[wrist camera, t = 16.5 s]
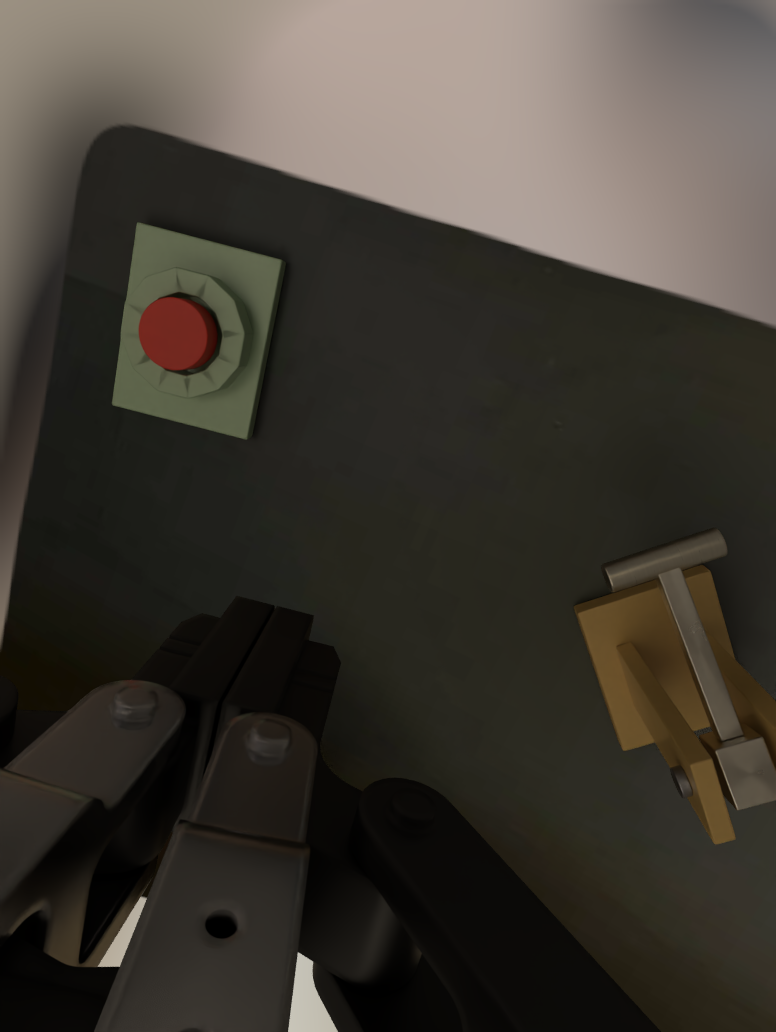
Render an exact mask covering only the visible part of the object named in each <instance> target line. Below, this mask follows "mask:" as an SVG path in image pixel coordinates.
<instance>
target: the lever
mask: <svg viewBox="0 0 776 1032" xmlns="http://www.w3.org/2000/svg"><path fill="white" fill-rule="evenodd" d="M726 555H727V545H726V542H725V540H724V538H723V536H722V534H721V533H720V531H719V530H718V529H717V528H710V529H707V530H704V531H701V532H698V533H695V534H692V535H689V536H686V537H683V538H680V539H677V540H674V541H671V542H668V543H665V544H662V545H659V546H655V547H652V548H649V549H646V550H643V551H640V552H637V553H634V554H631V555H628V556H625V557H622V558H619V559H616V560H613V561H610V562H607V563H604V564H602V565H601V569H602V573H603V576H604V579H605V581H606V584H607V586H608V588H609V589H610V591H611V592H616V591H619V590H622V589H625V588H628V587H632V586H635V585H638V584H641V583H644V582H647V581H650V580H653V579H655V580H656V583H657V585H658V588H659V591H660V593H661V596H662V599H663V601H664V604H665V606H666V609H667V612H668V614H669V617H670V620H671V622H672V625H673V628H674V630H675V633H676V636H677V638H678V641H679V644H680V646H681V649H682V652H683V654H684V657H685V659H686V662H687V665H688V667H689V670H690V673H691V675H692V678H693V681H694V683H695V686H696V689H697V691H698V694H699V697H700V699H701V702H702V705H703V707H704V710H705V713H706V715H707V718H708V720H709V723H710V726H711V728H712V731H713V732H709V733H706V734H702V735H699V738H700V741H701V743H702V745H703V746H704V748H705V749H706V751H707V752H708V753H709V755H710V756H711V758H712V759H713V763H714V766H715V769H716V773H717V776H718V779H719V783H720V786H721V789H722V793H723V795H724V797H725V798H726V799H727V800H728V801H729V802H730V803H731V804H732V805H733V807H734V808H735V809H736V810H742V809H746V808H750V807H753V806H757V805H761V804H764V803H768V802H772V801H776V769H775V766H774V763H773V761H772V758H771V756H770V753H769V750H768V748H767V745H766V743H765V740H764V738H763V737H762V736H761V735H760V734H758V733H757V732H756V731H754V730H753V729H751V728H750V727H749V726H747V725H746V724H745V723H740V721H739V719H738V716H737V714H736V711H735V708H734V706H733V703H732V700H731V698H730V695H729V693H728V690H727V687H726V685H725V682H724V679H723V677H722V674H721V672H720V669H719V666H718V664H717V661H716V659H715V656H714V653H713V651H712V648H711V645H710V643H709V640H708V638H707V635H706V632H705V630H704V627H703V624H702V622H701V619H700V617H699V614H698V611H697V609H696V606H695V603H694V601H693V598H692V596H691V593H690V590H689V588H688V585H687V583H686V580H685V577H684V575H683V572H682V570H684V569H687V568H690V567H694V566H697V565H700V564H703V563H706V562H709V561H712V560H715V559H718V558H722V557H725V556H726Z"/></svg>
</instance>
